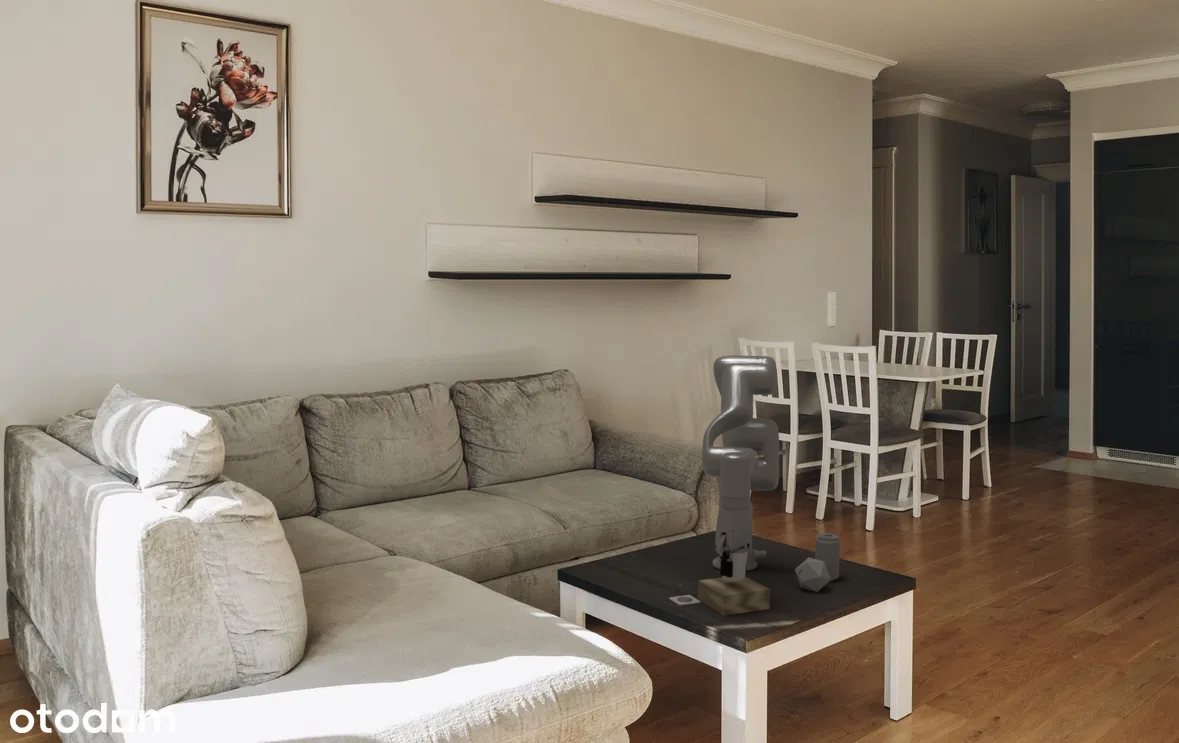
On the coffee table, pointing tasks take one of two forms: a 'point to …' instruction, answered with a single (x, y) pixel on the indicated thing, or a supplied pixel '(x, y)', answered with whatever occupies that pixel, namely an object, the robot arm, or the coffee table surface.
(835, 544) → the beverage can
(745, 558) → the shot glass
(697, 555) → the coffee table surface
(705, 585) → the oak block
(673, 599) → the tile
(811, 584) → the die
